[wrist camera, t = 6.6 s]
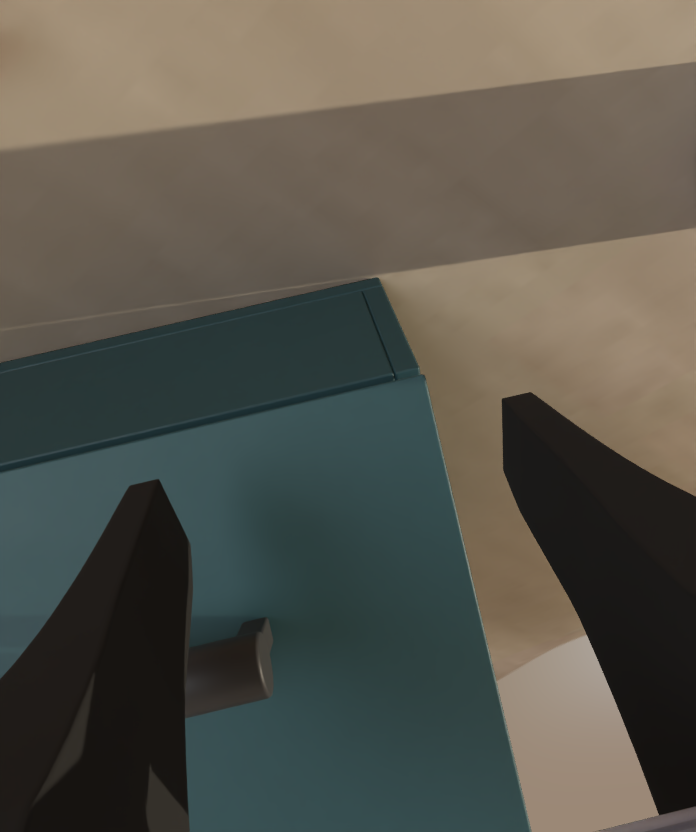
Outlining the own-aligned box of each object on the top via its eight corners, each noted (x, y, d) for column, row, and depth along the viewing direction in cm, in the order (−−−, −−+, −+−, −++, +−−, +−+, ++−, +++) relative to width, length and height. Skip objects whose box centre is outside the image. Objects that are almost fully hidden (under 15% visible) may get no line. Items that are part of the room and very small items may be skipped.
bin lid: (549, 923, 17) (610, 1063, 13) (-21, 1067, 17) (-124, 1253, 13) (421, 375, 17) (446, 361, 14) (-147, 506, 17) (-286, 530, 13)
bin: (419, 549, 31) (453, 656, 26) (100, 625, 30) (80, 746, 26) (378, 276, 22) (419, 367, 17) (-74, 378, 21) (-150, 498, 17)
